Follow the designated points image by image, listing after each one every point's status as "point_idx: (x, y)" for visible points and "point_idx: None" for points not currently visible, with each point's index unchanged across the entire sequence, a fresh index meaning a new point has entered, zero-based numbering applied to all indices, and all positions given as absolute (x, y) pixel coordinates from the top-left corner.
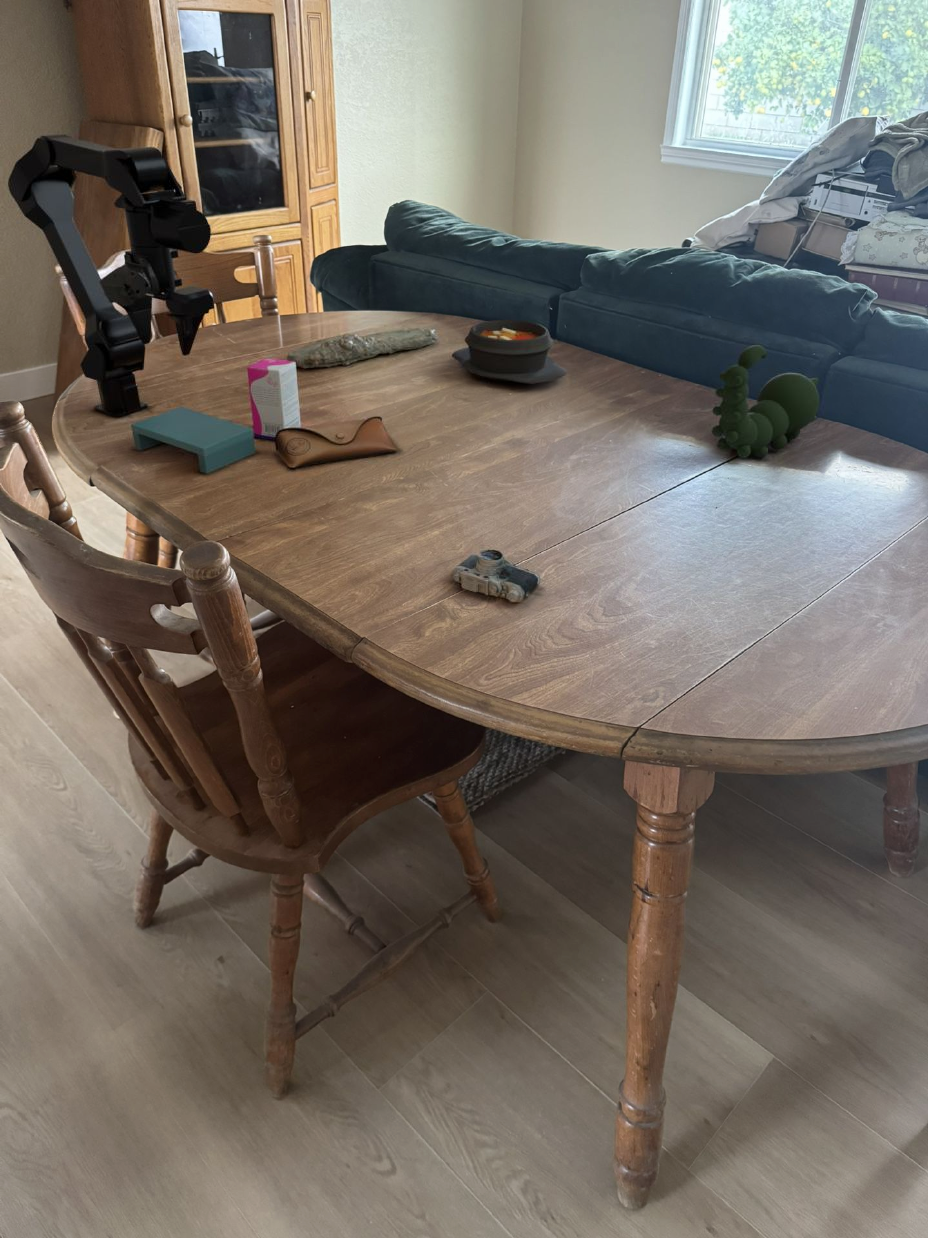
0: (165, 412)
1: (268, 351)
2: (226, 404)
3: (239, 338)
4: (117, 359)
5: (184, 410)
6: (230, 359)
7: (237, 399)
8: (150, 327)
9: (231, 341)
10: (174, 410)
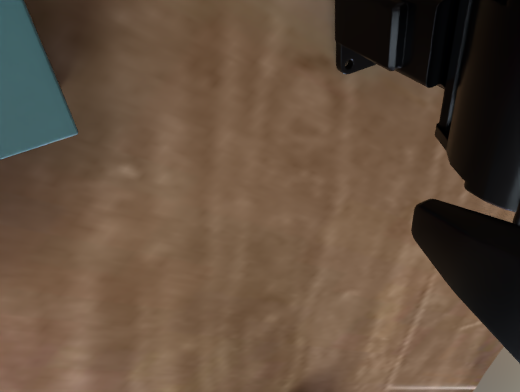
0: (29, 33)
1: (392, 369)
2: (205, 263)
3: (467, 336)
4: (493, 26)
5: (9, 126)
6: (416, 313)
7: (219, 292)
8: (482, 319)
9: (469, 325)
10: (38, 85)
